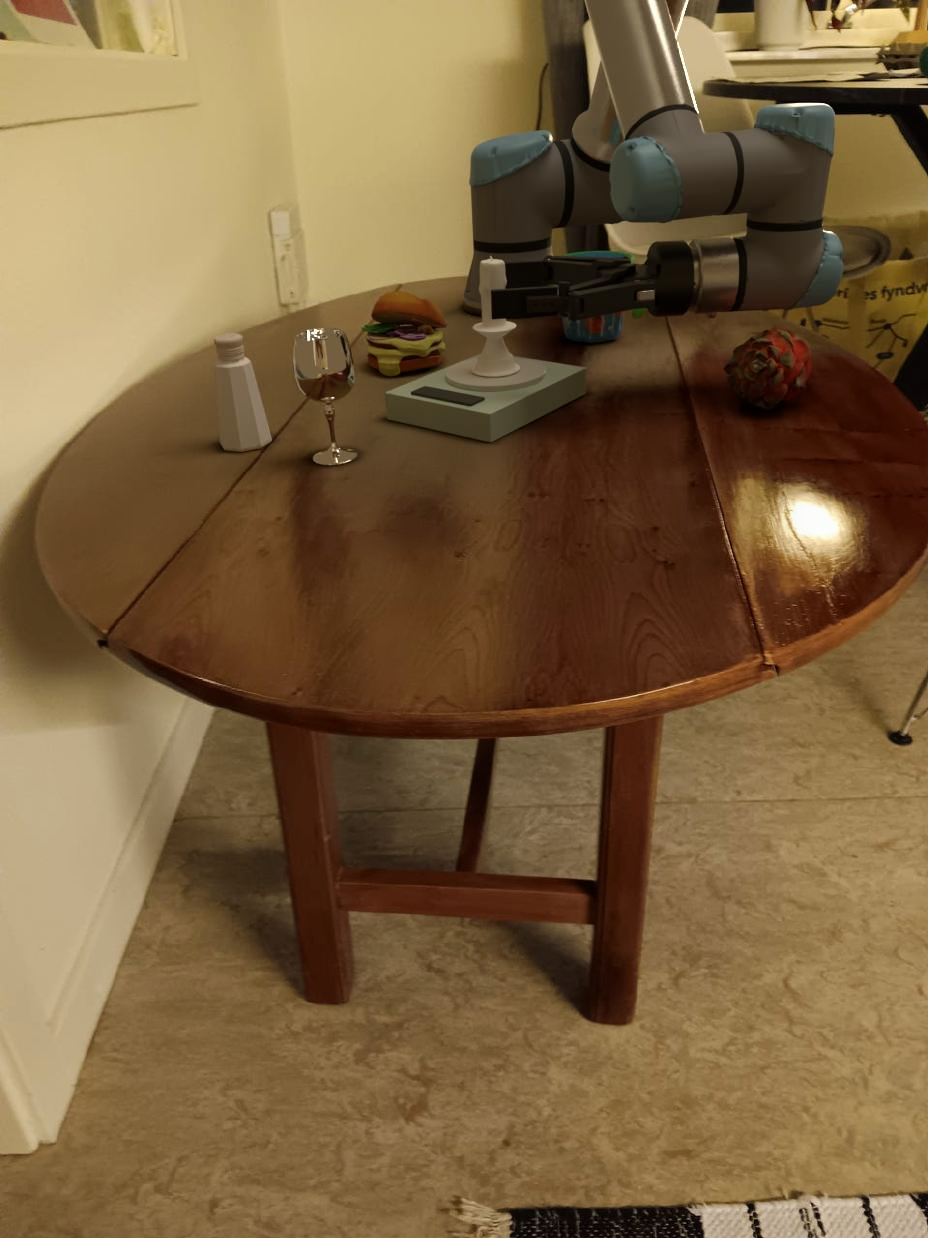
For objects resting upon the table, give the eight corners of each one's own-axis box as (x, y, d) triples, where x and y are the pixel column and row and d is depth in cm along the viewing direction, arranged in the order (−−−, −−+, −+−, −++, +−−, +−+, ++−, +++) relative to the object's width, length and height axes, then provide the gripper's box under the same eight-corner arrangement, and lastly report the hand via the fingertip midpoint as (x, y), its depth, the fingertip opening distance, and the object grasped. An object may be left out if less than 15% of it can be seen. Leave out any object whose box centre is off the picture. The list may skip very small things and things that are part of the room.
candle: (505, 379, 101) (502, 261, 95) (462, 374, 104) (456, 258, 98) (528, 366, 105) (527, 251, 99) (486, 361, 108) (482, 249, 102)
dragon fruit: (758, 437, 98) (753, 415, 108) (836, 388, 94) (823, 371, 105) (713, 367, 96) (713, 352, 107) (790, 315, 93) (782, 305, 103)
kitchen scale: (486, 375, 115) (485, 346, 113) (586, 393, 108) (586, 361, 106) (387, 419, 103) (384, 386, 101) (490, 442, 96) (489, 407, 94)
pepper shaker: (283, 440, 99) (266, 333, 93) (239, 456, 96) (220, 346, 90) (251, 430, 102) (234, 326, 97) (209, 444, 99) (188, 337, 93)
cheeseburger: (348, 374, 118) (347, 289, 115) (387, 371, 127) (387, 292, 124) (423, 378, 114) (424, 290, 111) (457, 375, 124) (459, 293, 121)
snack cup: (523, 335, 131) (522, 257, 125) (578, 320, 136) (579, 244, 131) (607, 356, 120) (610, 271, 115) (663, 339, 125) (667, 257, 120)
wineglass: (317, 472, 91) (300, 345, 85) (298, 454, 96) (280, 332, 89) (373, 459, 93) (360, 335, 87) (351, 442, 98) (337, 323, 92)
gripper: (717, 344, 92) (496, 358, 91) (659, 289, 113) (480, 300, 113) (724, 262, 88) (494, 276, 88) (662, 221, 109) (478, 232, 109)
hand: (486, 289), depth 100 cm, fingers open, 13 cm apart
